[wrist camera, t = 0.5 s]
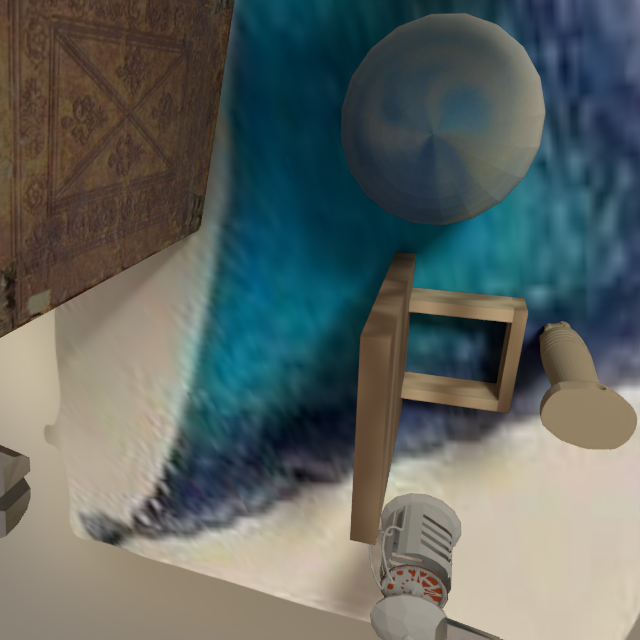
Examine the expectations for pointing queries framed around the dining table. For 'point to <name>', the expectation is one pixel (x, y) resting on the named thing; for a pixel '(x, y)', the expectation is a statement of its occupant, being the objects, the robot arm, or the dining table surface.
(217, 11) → the book
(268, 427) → the dining table surface
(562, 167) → the dining table surface
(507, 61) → the decorative ball
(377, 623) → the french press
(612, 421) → the handle
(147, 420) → the dining table surface
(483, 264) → the dining table surface
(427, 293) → the cleat board
